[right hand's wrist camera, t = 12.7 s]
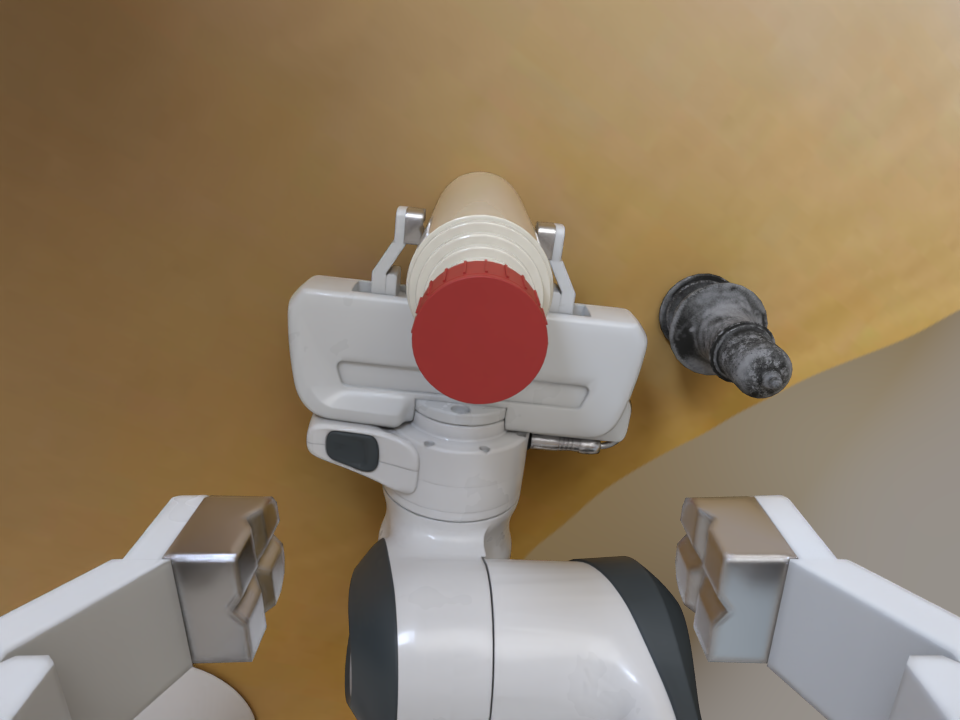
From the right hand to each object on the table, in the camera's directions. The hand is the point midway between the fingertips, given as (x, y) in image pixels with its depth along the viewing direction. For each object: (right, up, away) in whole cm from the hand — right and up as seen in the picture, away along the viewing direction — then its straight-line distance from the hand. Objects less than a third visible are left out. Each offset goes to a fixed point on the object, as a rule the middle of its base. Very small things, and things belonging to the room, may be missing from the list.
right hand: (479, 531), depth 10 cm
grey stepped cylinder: (+14, +6, +32) cm, 36 cm away
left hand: (0, +11, +25) cm, 27 cm away
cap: (0, +3, +9) cm, 9 cm away
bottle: (0, +12, +30) cm, 32 cm away
